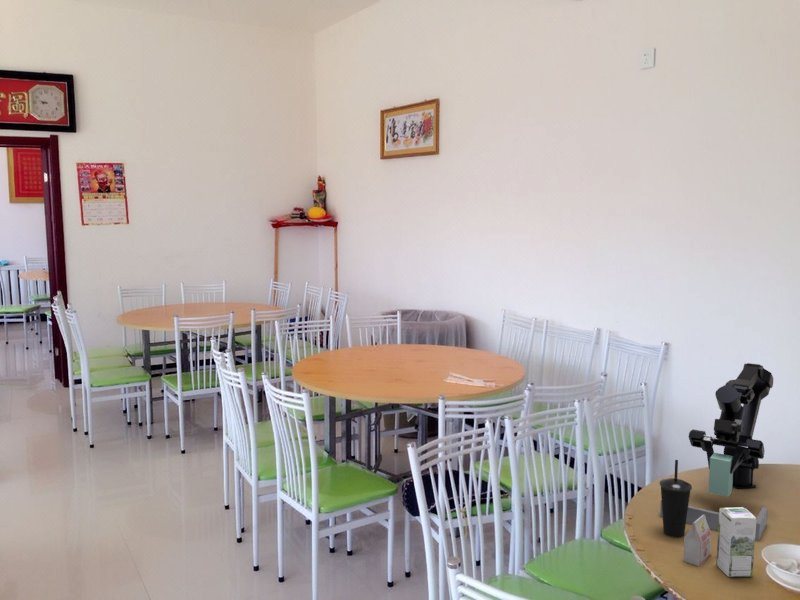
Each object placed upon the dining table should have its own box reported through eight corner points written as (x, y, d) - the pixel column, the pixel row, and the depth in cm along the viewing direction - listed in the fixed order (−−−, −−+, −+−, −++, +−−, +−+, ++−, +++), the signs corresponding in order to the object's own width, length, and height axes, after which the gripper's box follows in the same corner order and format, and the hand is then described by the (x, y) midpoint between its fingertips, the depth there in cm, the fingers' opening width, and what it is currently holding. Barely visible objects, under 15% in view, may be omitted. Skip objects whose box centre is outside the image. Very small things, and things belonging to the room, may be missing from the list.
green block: (712, 486, 189) (714, 452, 188) (732, 490, 186) (733, 456, 185) (708, 492, 186) (709, 457, 184) (728, 497, 183) (729, 461, 181)
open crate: (671, 504, 192) (672, 487, 191) (766, 526, 178) (767, 508, 177) (660, 518, 183) (660, 501, 182) (758, 543, 168) (759, 524, 168)
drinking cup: (651, 531, 175) (653, 457, 173) (673, 526, 178) (676, 453, 176) (673, 544, 168) (676, 467, 166) (696, 538, 171) (699, 462, 169)
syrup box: (739, 564, 158) (742, 505, 156) (753, 578, 152) (756, 516, 151) (715, 565, 158) (718, 506, 156) (728, 578, 152) (731, 517, 150)
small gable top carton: (683, 561, 160) (685, 520, 159) (694, 551, 165) (696, 512, 164) (699, 566, 158) (701, 525, 156) (710, 556, 162) (711, 516, 161)
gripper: (691, 401, 192) (679, 450, 185) (764, 412, 181) (755, 464, 173) (697, 421, 199) (686, 469, 192) (768, 433, 188) (759, 483, 181)
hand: (720, 470), depth 184 cm, fingers closed on green block, 5 cm apart
